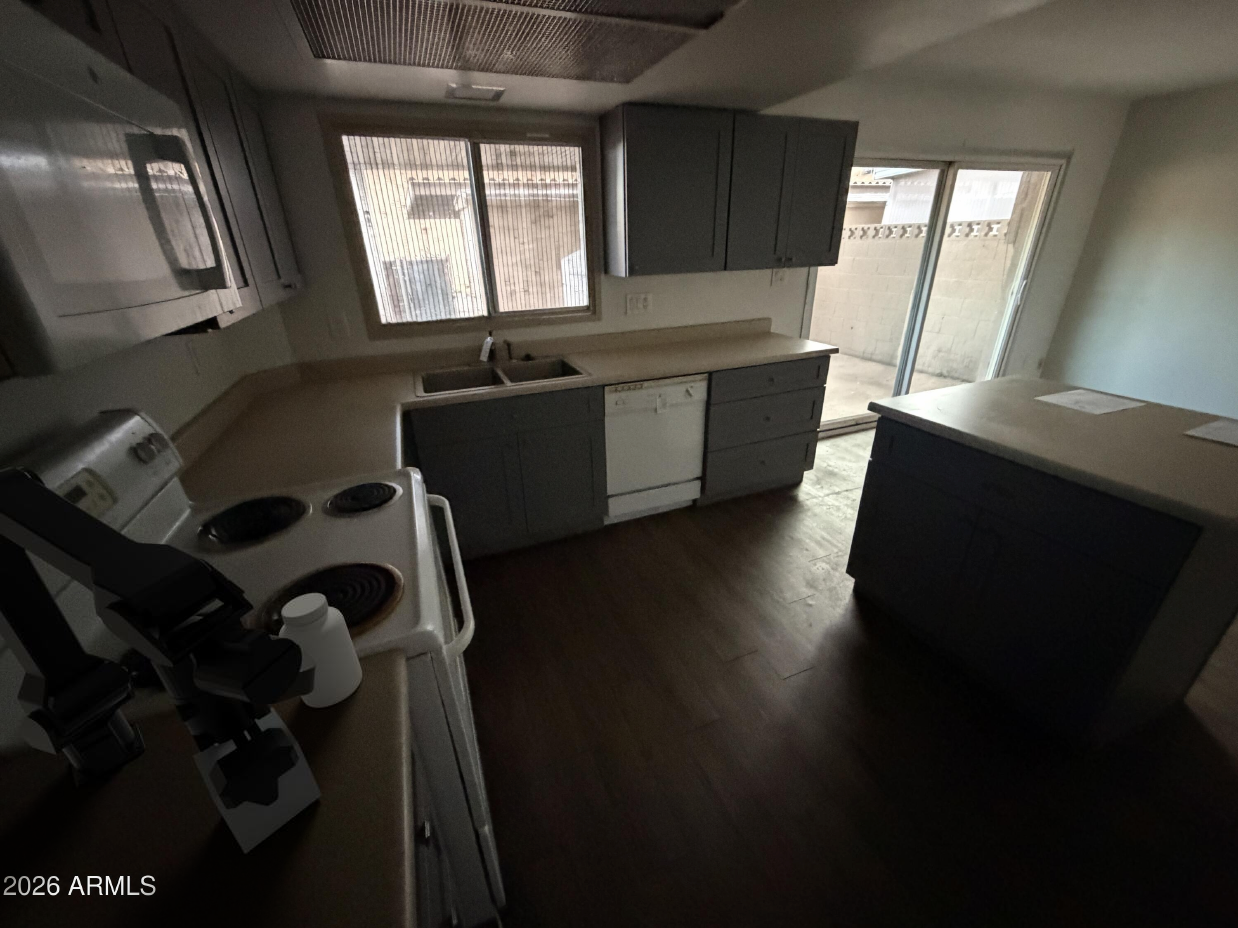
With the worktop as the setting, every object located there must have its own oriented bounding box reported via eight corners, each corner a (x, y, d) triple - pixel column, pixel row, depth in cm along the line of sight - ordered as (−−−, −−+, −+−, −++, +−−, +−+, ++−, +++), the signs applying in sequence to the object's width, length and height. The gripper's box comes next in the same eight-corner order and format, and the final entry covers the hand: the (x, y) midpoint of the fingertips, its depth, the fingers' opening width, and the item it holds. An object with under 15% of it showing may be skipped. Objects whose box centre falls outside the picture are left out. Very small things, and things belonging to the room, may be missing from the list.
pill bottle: (374, 666, 76) (347, 586, 70) (342, 710, 69) (309, 626, 63) (326, 664, 77) (295, 585, 71) (290, 708, 70) (252, 624, 64)
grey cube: (223, 808, 57) (192, 755, 53) (296, 757, 62) (272, 706, 59) (245, 853, 52) (212, 799, 49) (321, 794, 58) (297, 741, 54)
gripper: (329, 667, 49) (369, 771, 56) (264, 597, 61) (303, 691, 67) (191, 750, 42) (256, 861, 48) (145, 653, 53) (203, 753, 59)
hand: (259, 779), depth 56 cm, fingers closed on grey cube, 8 cm apart
